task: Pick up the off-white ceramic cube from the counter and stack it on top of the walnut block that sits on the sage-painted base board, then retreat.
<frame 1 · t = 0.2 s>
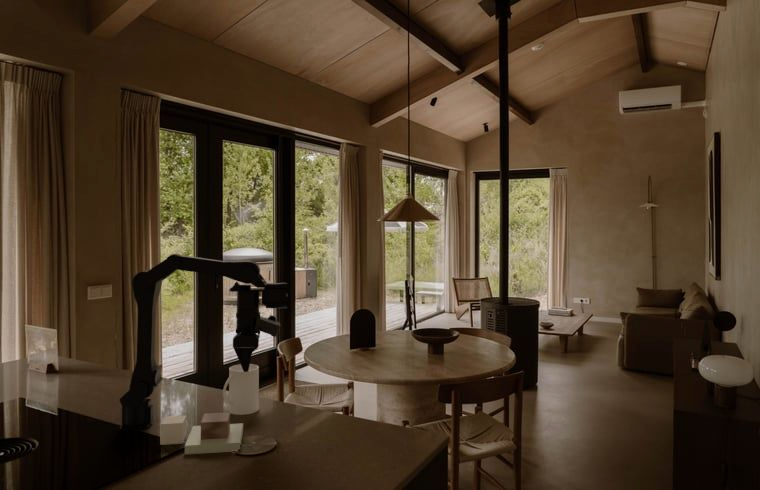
hand: (246, 367, 139), 14 cm above the kitchen island, fingers open, 9 cm apart
base board: (215, 442, 125), on the kitchen island
ceramic cube: (173, 440, 126), on the kitchen island
walnut block: (215, 433, 125), point 2 cm above the kitchen island, touching base board
mug: (239, 412, 147), on the kitchen island
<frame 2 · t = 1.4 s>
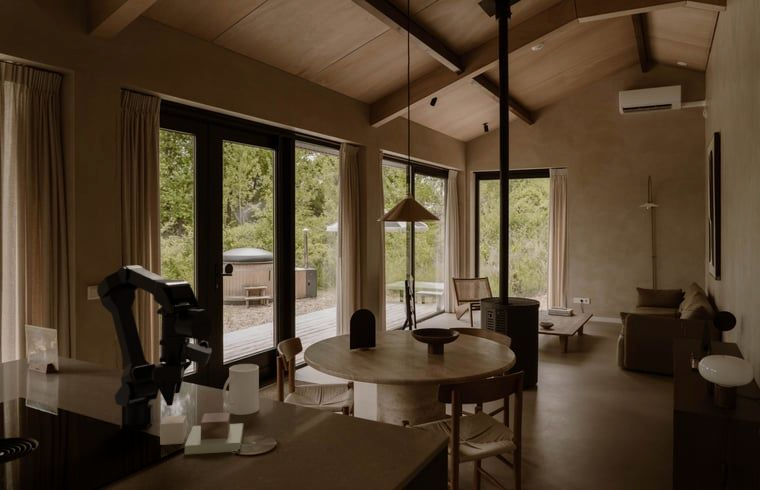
hand: (173, 398, 126), 10 cm above the kitchen island, fingers open, 9 cm apart
nothing on the kitchen island moved.
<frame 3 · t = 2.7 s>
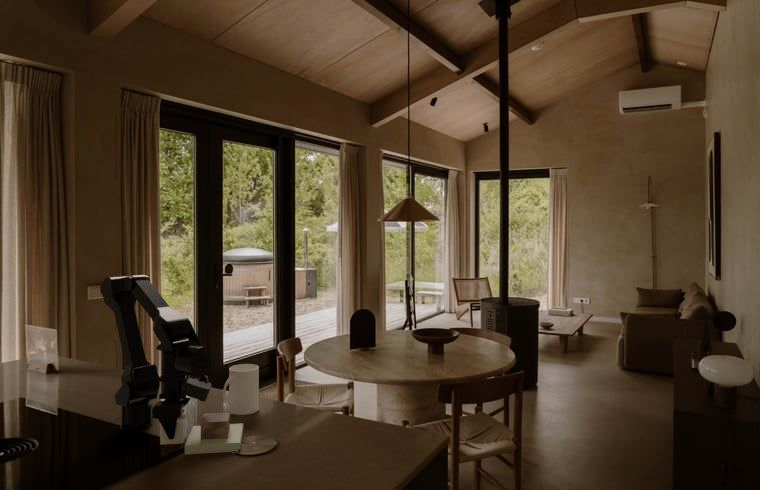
hand: (173, 434, 126), 1 cm above the kitchen island, fingers closed on ceramic cube, 5 cm apart
ceramic cube: (173, 439, 126), on the kitchen island, touching gripper
everything else where it was.
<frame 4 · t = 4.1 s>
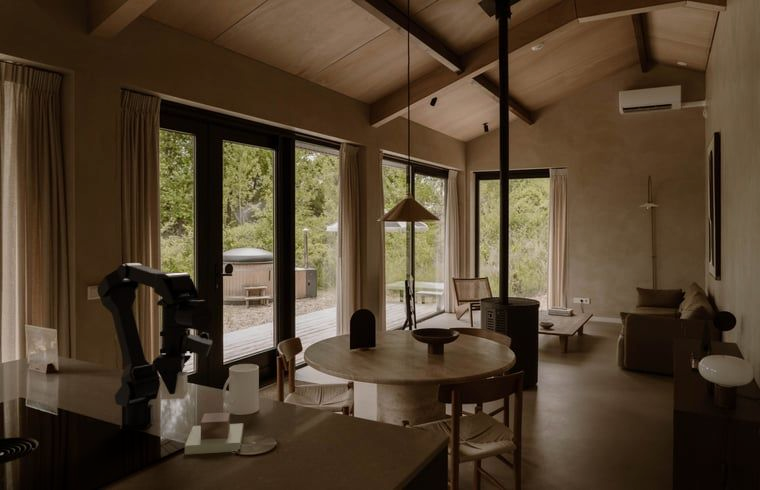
hand: (174, 390, 126), 12 cm above the kitchen island, fingers closed on ceramic cube, 5 cm apart
ceramic cube: (174, 395, 126), point 11 cm above the kitchen island, touching gripper
everything else where it was.
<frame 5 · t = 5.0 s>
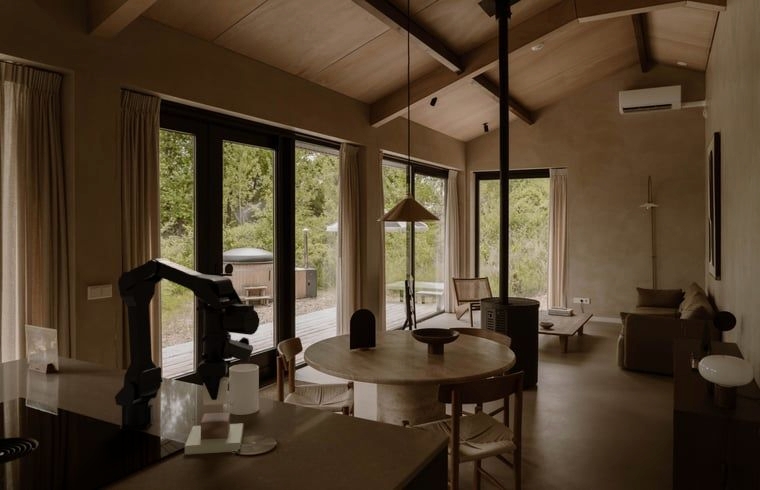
hand: (215, 396, 125), 11 cm above the kitchen island, fingers closed on ceramic cube, 5 cm apart
ceramic cube: (215, 401, 125), point 10 cm above the kitchen island, touching gripper
everything else where it was.
when the fingers open (9 cm above the kitchen island, at t = 5.7 s): ceramic cube drops 1 cm, resting on walnut block.
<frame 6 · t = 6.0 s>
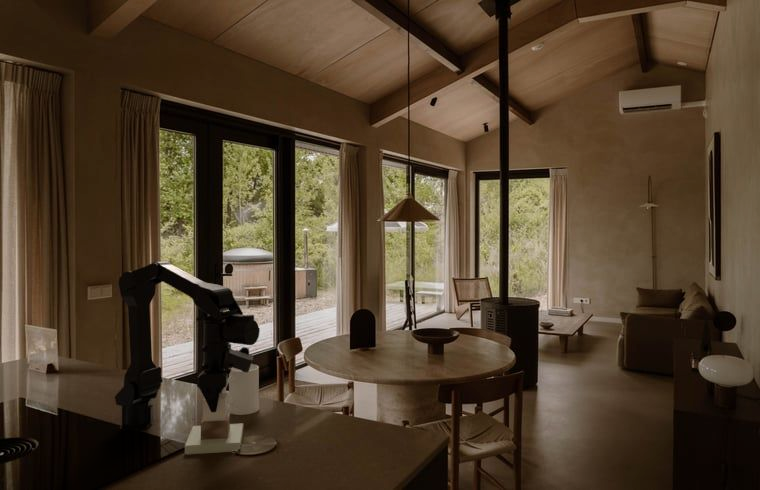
hand: (215, 406, 125), 9 cm above the kitchen island, fingers open, 8 cm apart
ceramic cube: (215, 417, 125), point 6 cm above the kitchen island, touching walnut block
walnut block: (215, 433, 125), point 2 cm above the kitchen island, touching base board, ceramic cube
everything else where it was.
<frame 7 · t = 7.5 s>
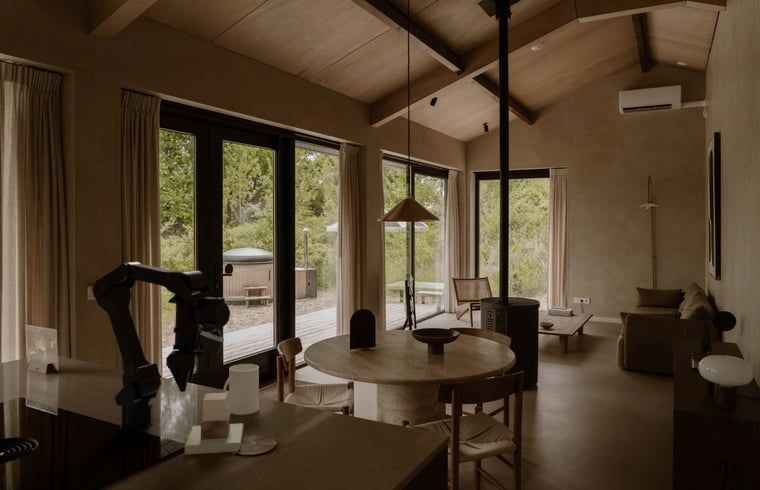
hand: (186, 385, 129), 12 cm above the kitchen island, fingers open, 9 cm apart
nothing on the kitchen island moved.
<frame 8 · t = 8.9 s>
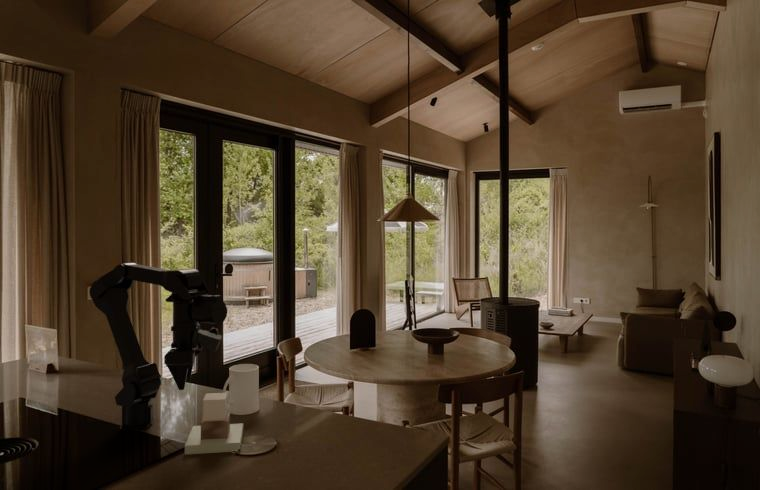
hand: (184, 384, 129), 13 cm above the kitchen island, fingers open, 9 cm apart
nothing on the kitchen island moved.
at the end: ceramic cube 0.1 cm off-centre on the walnut block, point 4.0 cm above the walnut block's base; ceramic cube tilted 0°; the gripper is holding nothing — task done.
